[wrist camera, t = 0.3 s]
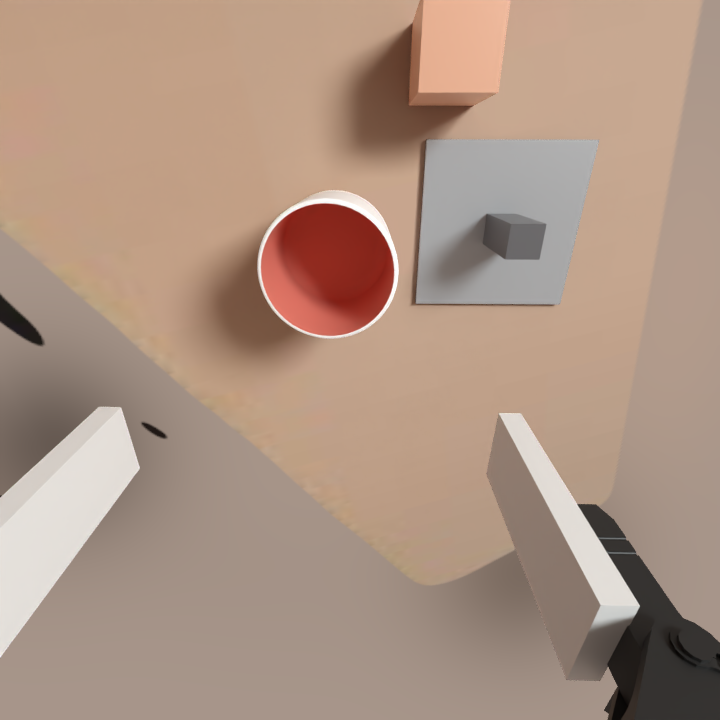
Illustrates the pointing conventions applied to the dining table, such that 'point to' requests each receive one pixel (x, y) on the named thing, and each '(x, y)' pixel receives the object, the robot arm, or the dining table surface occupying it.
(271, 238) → the cup
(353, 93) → the dining table surface
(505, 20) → the peach toy cube
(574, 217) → the grey square plate
